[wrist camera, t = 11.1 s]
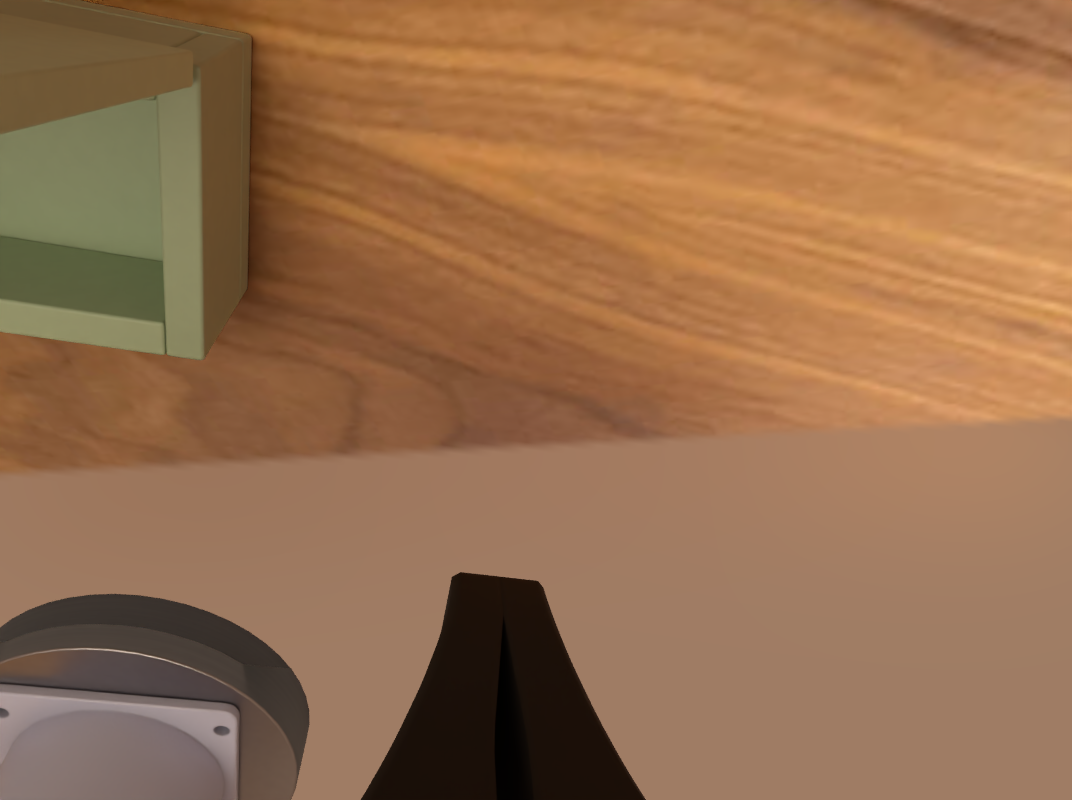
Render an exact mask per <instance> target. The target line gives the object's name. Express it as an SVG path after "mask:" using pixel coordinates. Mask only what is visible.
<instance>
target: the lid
mask: <svg viewBox="0 0 1072 800" xmlns="http://www.w3.org/2000/svg"><path fill="white" fill-rule="evenodd" d="M192 85H193V52H192V51H190V50H186V49H180V48H175V47H170V46H165V45H160V44H155V43H150V42H145V41H139V40H134V39H129V38H124V37H119V36H114V35H109V34H104V33H98V32H93V31H88V30H83V29H78V28H73V27H68V26H63V25H57V24H52V23H47V22H42V21H37V20H32V19H27V18H22V17H16V16H11V15H6V14H1V13H0V134H4V133H8V132H12V131H16V130H20V129H24V128H28V127H32V126H36V125H40V124H44V123H48V122H52V121H56V120H60V119H64V118H68V117H72V116H76V115H80V114H84V113H88V112H92V111H96V110H100V109H104V108H108V107H112V106H116V105H120V104H124V103H128V102H132V101H136V100H140V99H144V98H148V97H152V96H156V95H160V94H164V93H168V92H172V91H176V90H180V89H184V88H188V87H192Z"/></svg>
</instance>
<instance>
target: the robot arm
mask: <svg viewBox="0 0 1072 800" xmlns="http://www.w3.org/2000/svg"><path fill="white" fill-rule="evenodd" d="M239 725H240V713H239V710H238V709H237V708H236V707H235V706H233V705H231V704H228V703H221V702H210V701H198V700H187V699H175V698H163V697H152V696H140V695H128V694H117V693H105V692H93V691H82V690H70V689H59V688H47V687H35V686H24V685H12V684H0V800H238V787H239ZM361 800H646V799H645V798H644V796H643V795H642V793H641V792H640V790H639V788H638V787H637V785H636V784H635V782H634V780H633V779H632V777H631V775H630V774H629V772H628V771H627V769H626V767H625V766H624V764H623V762H622V760H621V758H620V757H619V755H618V753H617V751H616V750H615V748H614V746H613V744H612V742H611V741H610V739H609V737H608V735H607V733H606V731H605V730H604V728H603V726H602V724H601V722H600V720H599V718H598V716H597V714H596V712H595V711H594V709H593V707H592V705H591V702H590V700H589V698H588V696H587V694H586V692H585V690H584V688H583V686H582V684H581V682H580V679H579V677H578V675H577V673H576V671H575V669H574V667H573V664H572V662H571V660H570V658H569V655H568V653H567V651H566V648H565V646H564V643H563V641H562V638H561V636H560V634H559V631H558V629H557V626H556V623H555V621H554V618H553V615H552V613H551V610H550V607H549V604H548V601H547V598H546V595H545V592H544V589H543V587H542V585H541V584H540V583H539V582H538V581H533V580H524V579H515V578H506V577H497V576H488V575H480V574H471V573H462V572H460V573H459V574H457V575H455V576H453V577H452V580H451V585H450V590H449V595H448V600H447V605H446V610H445V615H444V620H443V626H442V630H441V634H440V637H439V640H438V643H437V646H436V648H435V651H434V654H433V656H432V659H431V661H430V664H429V666H428V669H427V671H426V674H425V677H424V679H423V681H422V684H421V686H420V688H419V690H418V693H417V695H416V697H415V699H414V701H413V703H412V705H411V708H410V709H409V712H408V714H407V716H406V718H405V720H404V722H403V724H402V726H401V728H400V731H399V732H398V734H397V736H396V738H395V740H394V742H393V744H392V746H391V748H390V750H389V751H388V753H387V755H386V757H385V759H384V761H383V762H382V764H381V766H380V768H379V770H378V771H377V773H376V775H375V777H374V778H373V780H372V782H371V784H370V785H369V787H368V789H367V790H366V792H365V794H364V795H363V797H362V799H361Z"/></svg>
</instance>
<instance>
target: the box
mask: <svg viewBox="0 0 1072 800" xmlns="http://www.w3.org/2000/svg"><path fill="white" fill-rule="evenodd" d="M0 13H1V14H6V15H11V16H16V17H22V18H27V19H32V20H37V21H42V22H47V23H52V24H57V25H63V26H68V27H73V28H78V29H83V30H88V31H93V32H98V33H104V34H109V35H114V36H119V37H124V38H129V39H134V40H139V41H145V42H150V43H155V44H160V45H165V46H170V47H175V48H180V49H186V50H190V51H192V52H193V85H192V87H188V88H184V89H180V90H176V91H172V92H168V93H164V94H160V95H156V96H152V97H148V98H144V99H140V100H136V101H132V102H128V103H124V104H120V105H116V106H112V107H108V108H104V109H100V110H96V111H92V112H88V113H84V114H80V115H76V116H72V117H68V118H64V119H60V120H56V121H52V122H48V123H44V124H40V125H36V126H32V127H28V128H24V129H20V130H16V131H12V132H8V133H4V134H0V332H5V333H12V334H19V335H26V336H33V337H40V338H47V339H54V340H61V341H68V342H75V343H82V344H89V345H96V346H103V347H110V348H117V349H124V350H131V351H138V352H145V353H152V354H159V355H164V354H166V352H167V355H169V356H174V357H181V358H188V359H195V360H203V359H204V358H205V357H206V355H207V354H208V352H209V350H210V349H211V347H212V345H213V344H214V342H215V340H216V339H217V337H218V336H219V334H220V332H221V331H222V329H223V327H224V326H225V324H226V323H227V321H228V319H229V318H230V316H231V314H232V313H233V311H234V309H235V308H236V306H237V305H238V303H239V300H241V298H242V296H243V295H244V293H245V291H246V290H247V288H248V233H249V175H250V116H251V57H252V38H251V36H250V35H249V34H246V33H241V32H236V31H231V30H226V29H221V28H216V27H211V26H206V25H201V24H196V23H191V22H186V21H181V20H176V19H171V18H166V17H161V16H156V15H151V14H146V13H141V12H136V11H131V10H126V9H121V8H116V7H111V6H106V5H101V4H96V3H91V2H86V1H81V0H0Z"/></svg>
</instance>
